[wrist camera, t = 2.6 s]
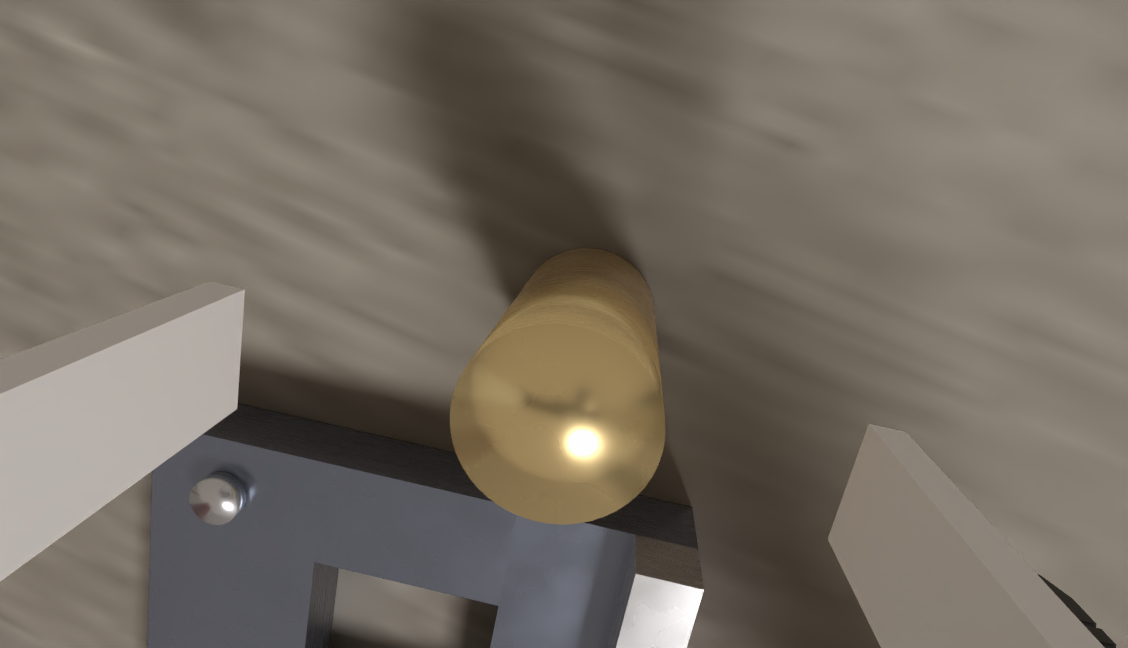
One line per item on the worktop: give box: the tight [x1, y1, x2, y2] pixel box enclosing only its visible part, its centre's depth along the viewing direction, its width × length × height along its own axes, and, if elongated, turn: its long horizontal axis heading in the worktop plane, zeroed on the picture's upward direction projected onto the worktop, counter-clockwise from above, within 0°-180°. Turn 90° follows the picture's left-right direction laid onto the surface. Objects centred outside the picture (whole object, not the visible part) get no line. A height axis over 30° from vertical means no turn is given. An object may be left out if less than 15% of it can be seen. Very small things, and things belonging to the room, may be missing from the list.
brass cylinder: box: [450, 248, 666, 525], centre depth 18 cm, size 4×4×9 cm
